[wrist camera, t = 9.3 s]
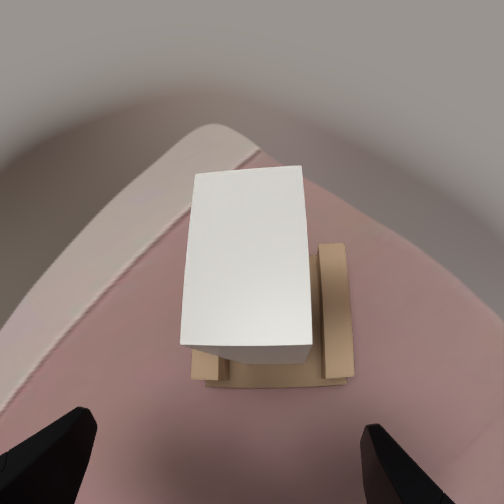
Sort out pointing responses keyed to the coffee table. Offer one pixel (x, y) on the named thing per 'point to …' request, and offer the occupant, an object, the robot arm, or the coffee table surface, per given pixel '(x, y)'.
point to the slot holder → (323, 337)
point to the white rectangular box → (248, 267)
